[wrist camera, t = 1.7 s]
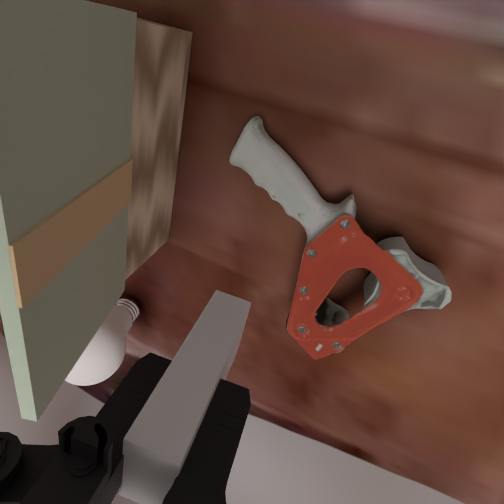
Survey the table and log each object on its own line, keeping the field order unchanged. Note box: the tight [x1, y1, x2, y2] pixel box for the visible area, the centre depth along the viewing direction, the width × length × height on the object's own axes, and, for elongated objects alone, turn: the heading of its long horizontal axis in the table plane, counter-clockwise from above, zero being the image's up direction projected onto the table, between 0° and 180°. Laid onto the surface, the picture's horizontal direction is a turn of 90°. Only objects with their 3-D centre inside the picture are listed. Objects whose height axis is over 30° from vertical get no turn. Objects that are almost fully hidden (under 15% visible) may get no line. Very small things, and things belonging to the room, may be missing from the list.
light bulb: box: [65, 297, 140, 386], centre depth 36 cm, size 7×7×11 cm
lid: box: [0, 0, 137, 421], centre depth 18 cm, size 19×11×1 cm
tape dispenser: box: [229, 116, 452, 360], centre depth 29 cm, size 18×5×20 cm
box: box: [125, 17, 193, 280], centre depth 28 cm, size 18×11×8 cm, turn 167°
